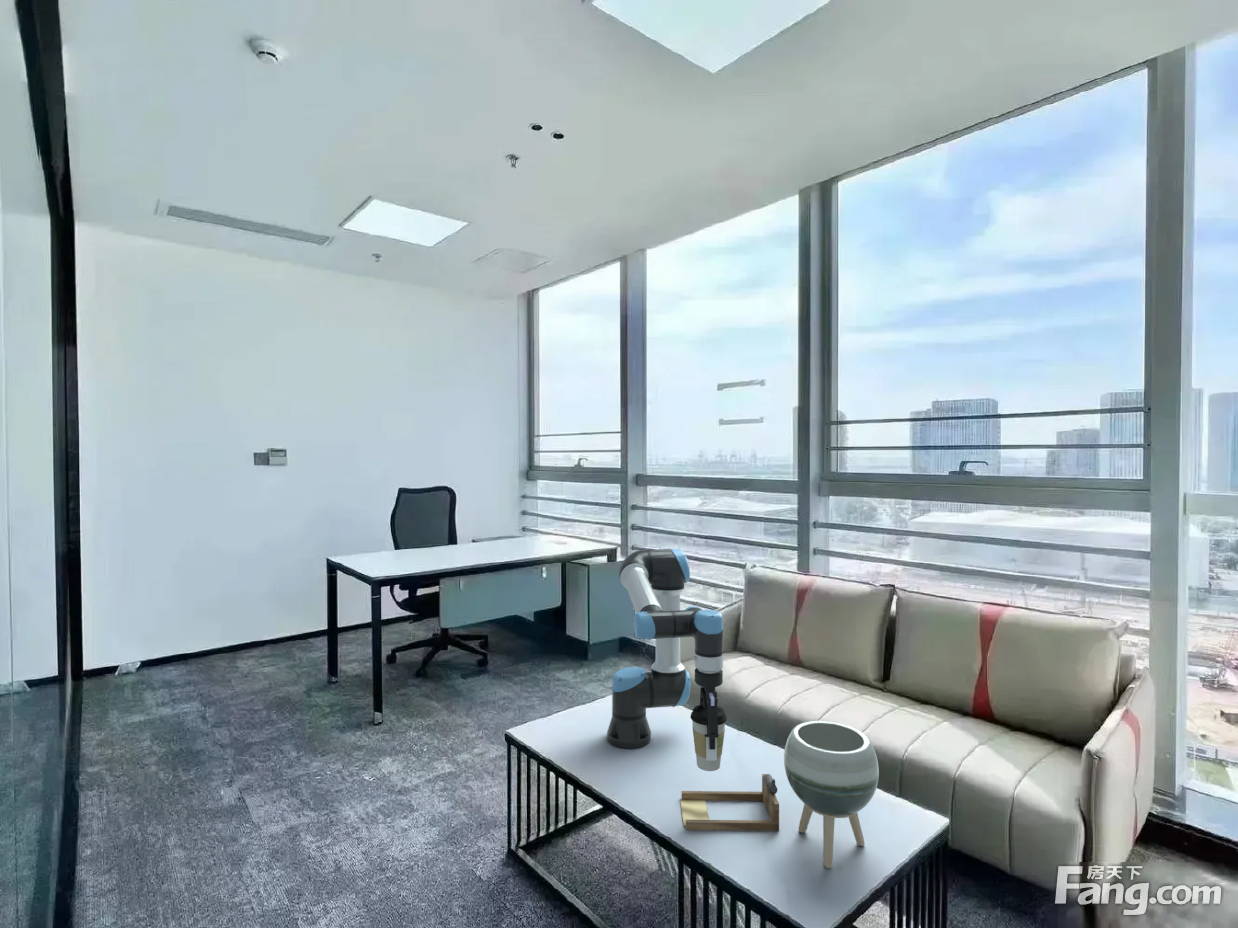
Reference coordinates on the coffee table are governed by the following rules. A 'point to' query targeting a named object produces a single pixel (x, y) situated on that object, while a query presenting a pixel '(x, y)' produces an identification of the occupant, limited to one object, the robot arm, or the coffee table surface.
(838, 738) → the planter
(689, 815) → the bay
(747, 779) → the coffee table surface
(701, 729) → the coffee cup
